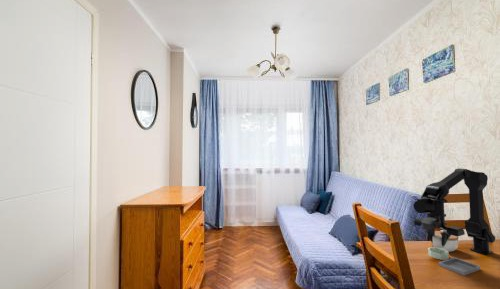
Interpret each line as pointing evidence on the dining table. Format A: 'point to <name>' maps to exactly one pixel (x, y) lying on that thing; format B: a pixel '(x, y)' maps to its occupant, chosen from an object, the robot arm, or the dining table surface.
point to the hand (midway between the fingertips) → (438, 244)
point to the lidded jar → (449, 242)
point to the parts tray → (459, 266)
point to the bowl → (438, 253)
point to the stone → (437, 241)
